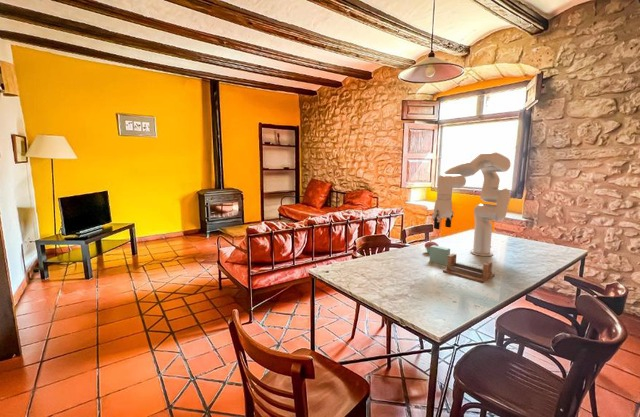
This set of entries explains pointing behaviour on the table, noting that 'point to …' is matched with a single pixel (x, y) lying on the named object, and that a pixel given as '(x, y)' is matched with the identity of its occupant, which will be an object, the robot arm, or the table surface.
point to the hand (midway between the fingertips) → (442, 227)
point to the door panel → (439, 254)
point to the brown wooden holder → (468, 270)
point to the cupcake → (430, 245)
